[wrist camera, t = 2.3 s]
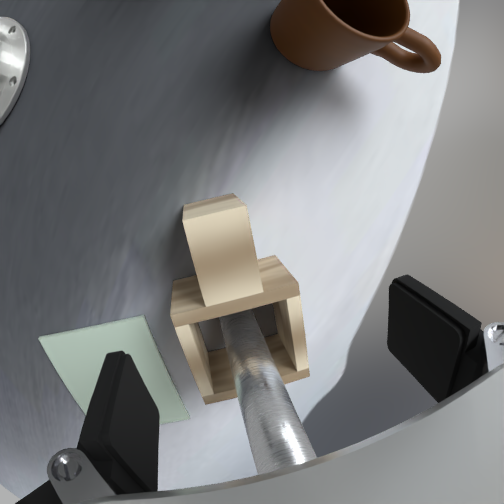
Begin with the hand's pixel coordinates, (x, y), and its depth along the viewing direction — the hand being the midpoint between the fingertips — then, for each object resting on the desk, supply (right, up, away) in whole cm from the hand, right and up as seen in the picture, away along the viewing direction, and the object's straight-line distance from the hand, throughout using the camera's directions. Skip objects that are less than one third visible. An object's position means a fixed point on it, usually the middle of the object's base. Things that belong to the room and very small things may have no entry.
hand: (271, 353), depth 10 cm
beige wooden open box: (-3, +1, +17) cm, 17 cm away
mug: (+6, +21, +12) cm, 25 cm away
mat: (-15, -10, +18) cm, 25 cm away
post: (-2, -2, +18) cm, 18 cm away
